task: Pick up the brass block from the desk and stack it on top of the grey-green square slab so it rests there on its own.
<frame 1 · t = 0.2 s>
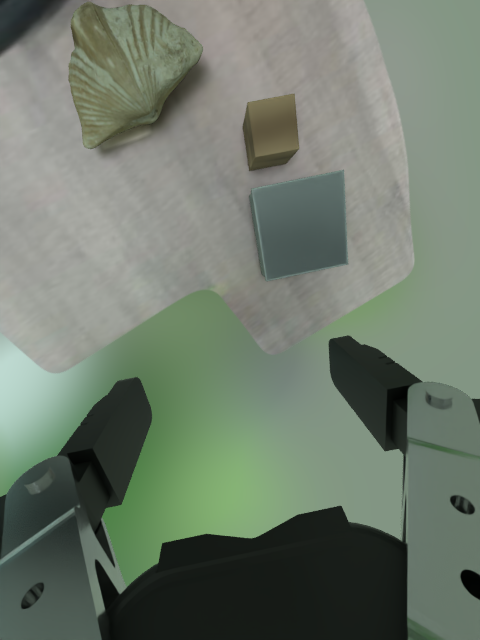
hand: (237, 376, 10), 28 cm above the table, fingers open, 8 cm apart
seashell: (134, 97, 29), on the table
brass block: (264, 145, 32), on the table
grey-green square slab: (291, 229, 36), on the table
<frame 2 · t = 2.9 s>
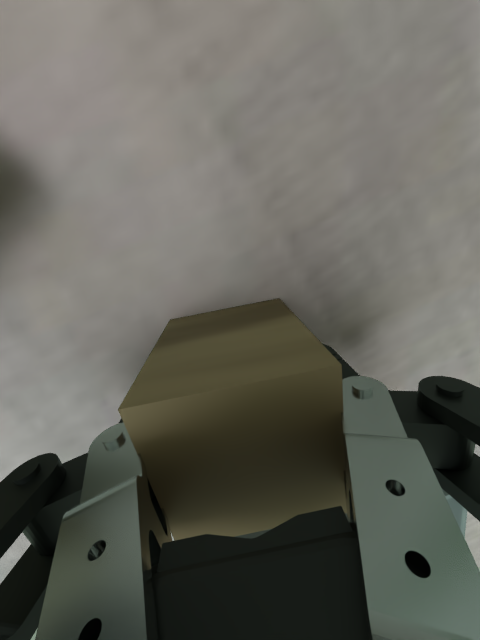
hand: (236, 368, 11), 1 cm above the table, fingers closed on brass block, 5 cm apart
brass block: (235, 356, 12), on the table, touching gripper
grey-green square slab: (303, 495, 16), on the table
when the fingers open (7 cm above the table, at t = 7.2 s): brass block drops 1 cm, resting on grey-green square slab.
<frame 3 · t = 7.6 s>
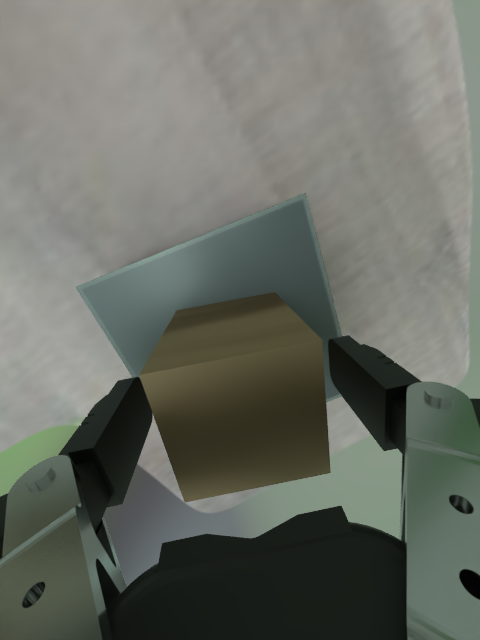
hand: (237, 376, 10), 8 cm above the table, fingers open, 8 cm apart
brass block: (234, 345, 13), point 5 cm above the table, touching grey-green square slab
grey-green square slab: (229, 316, 18), on the table, touching brass block
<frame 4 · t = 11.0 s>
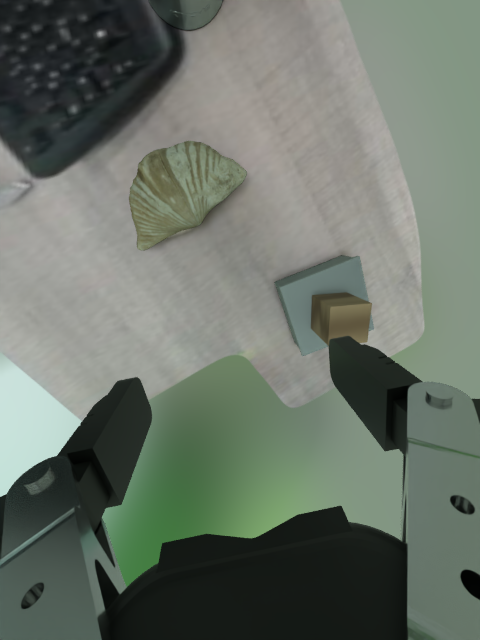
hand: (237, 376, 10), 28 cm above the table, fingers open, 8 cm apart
seashell: (179, 199, 33), on the table
brass block: (328, 310, 35), point 5 cm above the table, touching grey-green square slab
grey-green square slab: (316, 300, 40), on the table, touching brass block
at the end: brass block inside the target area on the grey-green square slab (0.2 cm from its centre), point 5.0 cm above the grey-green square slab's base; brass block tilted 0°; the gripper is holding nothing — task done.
